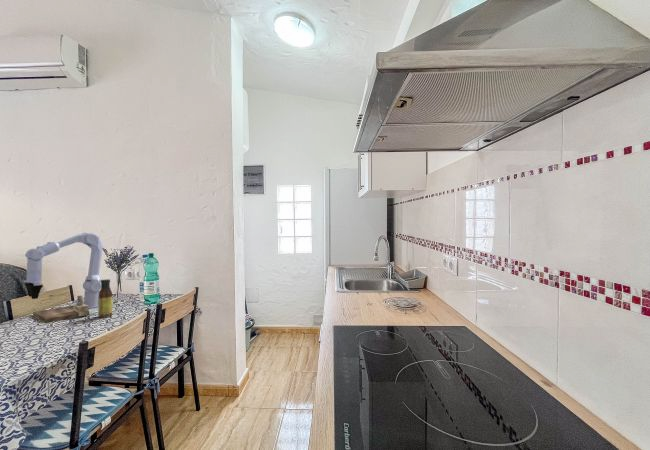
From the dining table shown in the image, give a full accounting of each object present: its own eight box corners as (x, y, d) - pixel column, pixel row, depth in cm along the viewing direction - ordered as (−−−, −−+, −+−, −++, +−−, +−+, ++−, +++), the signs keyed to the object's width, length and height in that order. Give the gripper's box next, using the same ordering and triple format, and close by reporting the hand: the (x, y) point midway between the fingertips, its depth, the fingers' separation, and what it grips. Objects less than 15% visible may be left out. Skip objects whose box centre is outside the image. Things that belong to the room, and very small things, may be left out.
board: (74, 309, 180) (74, 305, 180) (89, 315, 169) (89, 311, 169) (33, 315, 165) (33, 311, 165) (46, 322, 154) (46, 318, 154)
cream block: (81, 312, 173) (82, 294, 173) (88, 314, 168) (88, 296, 168) (72, 313, 169) (73, 295, 169) (79, 316, 164) (80, 298, 164)
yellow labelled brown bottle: (115, 315, 171) (116, 278, 171) (106, 318, 164) (107, 280, 165) (104, 314, 171) (105, 278, 171) (94, 317, 165) (96, 280, 165)
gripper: (21, 270, 165) (20, 296, 165) (26, 273, 156) (25, 301, 156) (38, 269, 171) (38, 294, 170) (45, 272, 162) (44, 298, 162)
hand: (33, 297), depth 164 cm, fingers open, 7 cm apart
